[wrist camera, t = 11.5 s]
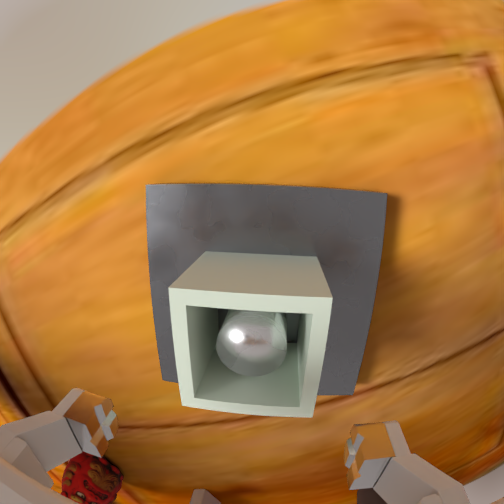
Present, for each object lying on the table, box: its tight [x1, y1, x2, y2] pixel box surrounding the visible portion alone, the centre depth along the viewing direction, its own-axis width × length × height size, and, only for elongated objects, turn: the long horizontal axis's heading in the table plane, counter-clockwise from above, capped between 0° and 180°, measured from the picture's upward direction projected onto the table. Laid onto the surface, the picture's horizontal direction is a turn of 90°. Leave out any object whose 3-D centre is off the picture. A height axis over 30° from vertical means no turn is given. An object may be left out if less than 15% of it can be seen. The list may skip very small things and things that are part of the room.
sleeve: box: [168, 251, 333, 417], centre depth 15 cm, size 6×6×6 cm
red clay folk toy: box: [61, 451, 123, 504], centre depth 21 cm, size 8×7×15 cm
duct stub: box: [146, 183, 387, 395], centre depth 16 cm, size 14×14×6 cm
